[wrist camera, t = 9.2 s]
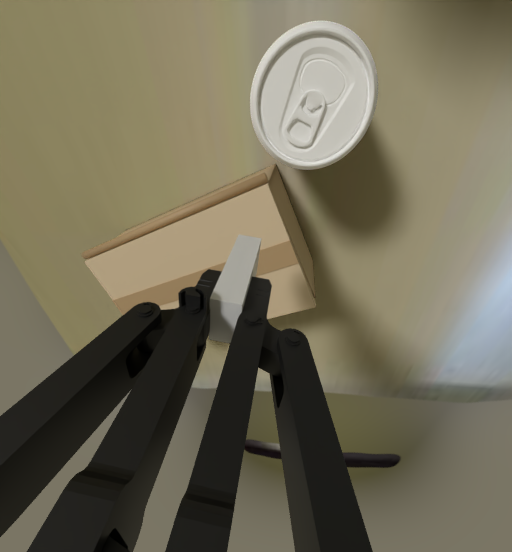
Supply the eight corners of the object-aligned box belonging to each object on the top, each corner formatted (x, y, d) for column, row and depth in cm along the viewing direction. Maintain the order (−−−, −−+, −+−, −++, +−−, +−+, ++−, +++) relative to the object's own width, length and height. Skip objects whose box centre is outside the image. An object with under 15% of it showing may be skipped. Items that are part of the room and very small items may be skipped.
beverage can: (369, 74, 25) (416, 59, 15) (322, 161, 29) (334, 194, 19) (289, 29, 24) (281, -19, 14) (253, 126, 28) (228, 142, 18)
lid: (85, 250, 31) (78, 254, 30) (265, 171, 23) (263, 173, 22) (152, 342, 36) (148, 348, 35) (316, 301, 29) (316, 307, 28)
